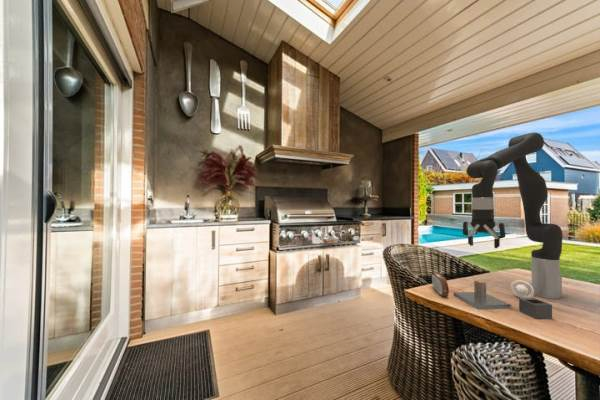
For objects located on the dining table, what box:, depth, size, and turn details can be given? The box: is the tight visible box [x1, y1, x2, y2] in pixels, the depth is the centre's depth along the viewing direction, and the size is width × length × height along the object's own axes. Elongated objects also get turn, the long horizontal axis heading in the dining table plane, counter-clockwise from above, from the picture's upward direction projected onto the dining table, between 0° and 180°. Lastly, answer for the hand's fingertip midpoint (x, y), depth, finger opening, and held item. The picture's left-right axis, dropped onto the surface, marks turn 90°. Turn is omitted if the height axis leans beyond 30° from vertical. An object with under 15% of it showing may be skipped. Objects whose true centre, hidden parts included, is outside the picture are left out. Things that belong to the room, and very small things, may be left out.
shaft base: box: [453, 279, 512, 310], centre depth 105 cm, size 14×14×9 cm
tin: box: [431, 272, 450, 297], centre depth 115 cm, size 15×3×8 cm, turn 168°
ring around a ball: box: [510, 279, 535, 298], centre depth 108 cm, size 8×6×8 cm
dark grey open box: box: [518, 297, 553, 320], centre depth 93 cm, size 6×6×5 cm
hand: (483, 246), depth 103 cm, fingers open, 8 cm apart
